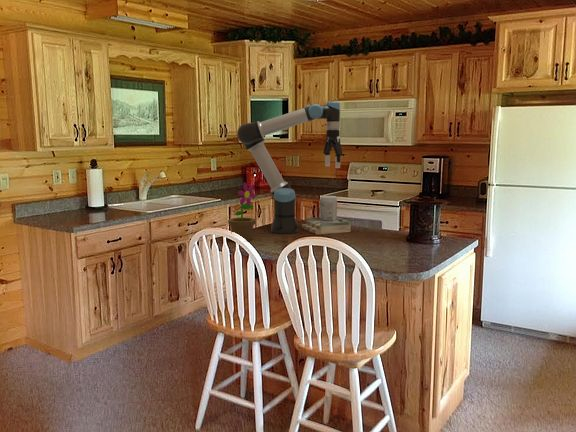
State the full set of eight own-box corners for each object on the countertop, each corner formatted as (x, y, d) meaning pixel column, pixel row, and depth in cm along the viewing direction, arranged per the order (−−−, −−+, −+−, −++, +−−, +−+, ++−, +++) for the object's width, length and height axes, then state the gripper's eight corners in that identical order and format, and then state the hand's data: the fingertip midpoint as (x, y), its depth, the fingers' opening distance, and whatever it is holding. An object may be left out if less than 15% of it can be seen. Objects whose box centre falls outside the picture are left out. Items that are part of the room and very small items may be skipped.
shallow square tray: (301, 227, 313) (301, 218, 312) (334, 225, 321) (334, 216, 320) (316, 234, 295) (316, 224, 294) (350, 231, 302) (350, 222, 301)
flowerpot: (241, 243, 272) (240, 183, 267) (222, 239, 282) (221, 181, 277) (261, 239, 282) (261, 181, 278) (243, 235, 292) (242, 179, 287)
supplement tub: (327, 220, 314) (327, 195, 312) (340, 222, 308) (340, 196, 306) (316, 222, 307) (316, 196, 305) (329, 224, 301) (329, 198, 299)
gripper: (317, 129, 316) (317, 165, 320) (336, 129, 293) (336, 169, 297) (329, 129, 319) (329, 165, 322) (349, 129, 296) (348, 168, 299)
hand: (332, 167), depth 310 cm, fingers open, 13 cm apart
